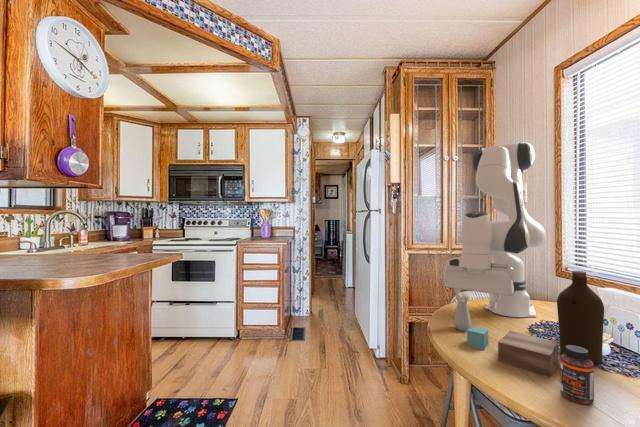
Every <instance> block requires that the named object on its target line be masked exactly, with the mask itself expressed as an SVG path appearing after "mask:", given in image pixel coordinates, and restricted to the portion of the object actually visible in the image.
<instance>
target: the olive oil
mask: <svg viewBox="0 0 640 427" xmlns="http://www.w3.org/2000/svg"><path fill="white" fill-rule="evenodd" d="M571 273H572V275H571V284H569V286H567V287H566V288H565V289H563V290H562V291H561V292H559V294H558V296H557V298H556V308H557V320H558V333H559V334H558V335H559V351H560V354H561V355H562V354H565V353H566V352H565V350H566V346H567V345H574V346H579V347H582V348H584V349H586V350H587V351H588V358H589V359H590V360H591V361H592V362H593V364H595V365H596V364H601V363H602V362H603V347H604V346H603V343H604V342H603V340H604V339H603V338H604V323H605V322H604V321H605V305H604V302H603V301H602V298H601V296H599V294H597V293H596V292H595V291H594V290H593V289H592V288H590V287H589V286H588V282H587V281H588V277H587V272H586V271H583V270H573V271H572V272H571Z"/></svg>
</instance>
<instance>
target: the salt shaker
mask: <svg viewBox="0 0 640 427" xmlns="http://www.w3.org/2000/svg"><path fill="white" fill-rule="evenodd" d="M460 293H461V295H462V297H465V299H464V300H465V302H464V303H460V302H458V296H457V295H456V294H455V299H456V301H457V304H456V309H455V315H454V319H453V323H454V325H455V328H456V330H458V331H460V332H467V330H468V329H469V328H470V327H471V326H472V320H471V315H470V309H469V305H468V302H469V299H470V297H469V295H468V294H467V293H463V292H460Z"/></svg>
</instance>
